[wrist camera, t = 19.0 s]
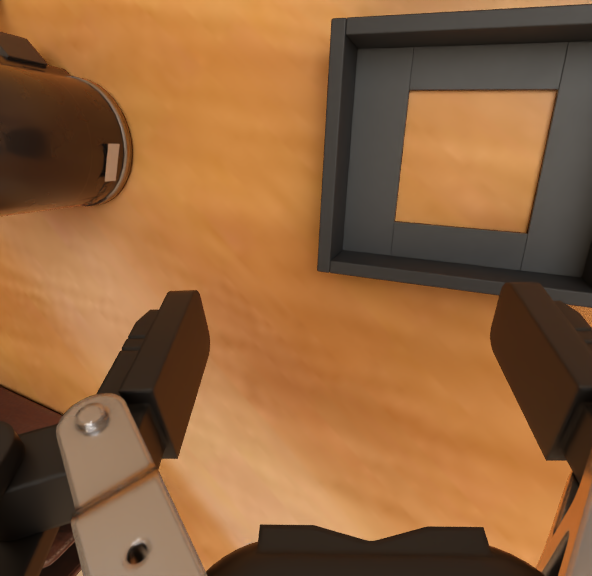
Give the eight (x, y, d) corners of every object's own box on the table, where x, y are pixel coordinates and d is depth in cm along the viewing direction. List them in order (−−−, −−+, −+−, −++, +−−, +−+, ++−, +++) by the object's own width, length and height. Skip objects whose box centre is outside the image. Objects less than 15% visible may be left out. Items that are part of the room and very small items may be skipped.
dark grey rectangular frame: (331, 259, 29) (316, 271, 26) (346, 34, 25) (331, 18, 22) (593, 291, 24) (613, 311, 21) (667, 20, 20) (705, -4, 17)
